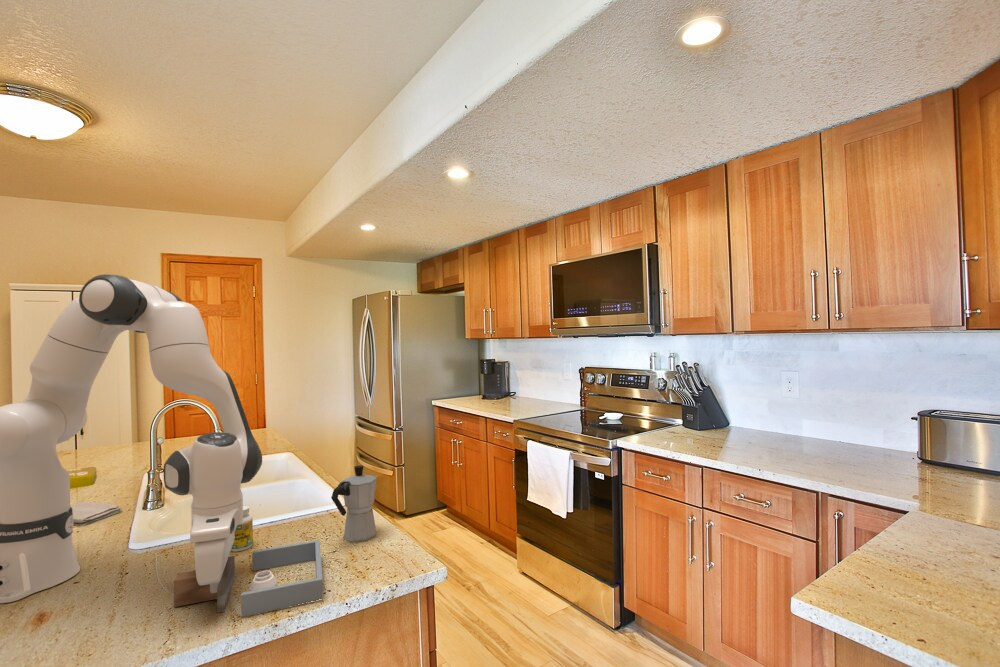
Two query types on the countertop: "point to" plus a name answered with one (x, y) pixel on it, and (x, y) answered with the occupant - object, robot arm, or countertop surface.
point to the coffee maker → (357, 505)
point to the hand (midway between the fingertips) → (218, 585)
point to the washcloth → (92, 512)
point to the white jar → (263, 581)
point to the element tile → (82, 477)
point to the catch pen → (284, 593)
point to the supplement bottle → (244, 532)
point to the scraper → (204, 588)
